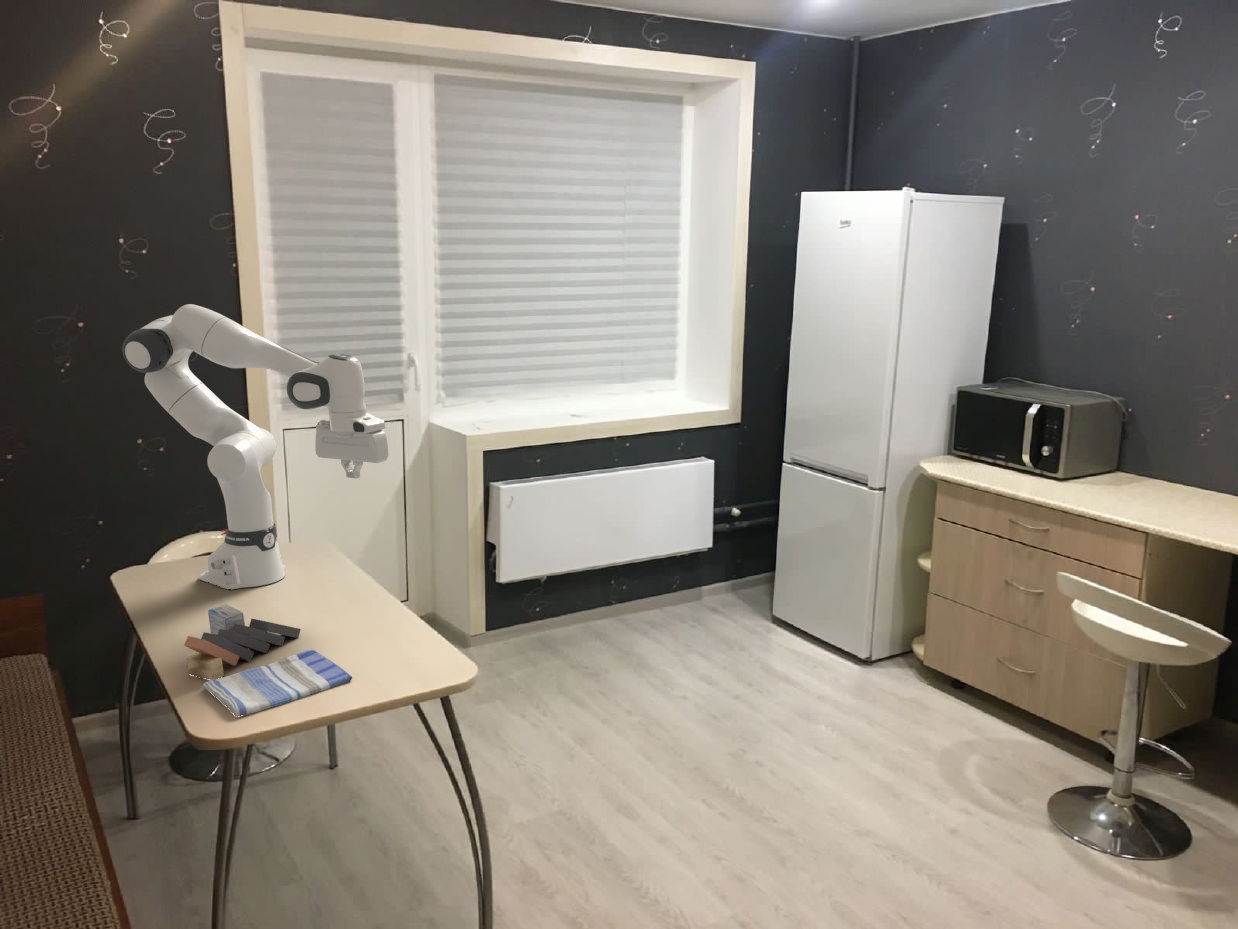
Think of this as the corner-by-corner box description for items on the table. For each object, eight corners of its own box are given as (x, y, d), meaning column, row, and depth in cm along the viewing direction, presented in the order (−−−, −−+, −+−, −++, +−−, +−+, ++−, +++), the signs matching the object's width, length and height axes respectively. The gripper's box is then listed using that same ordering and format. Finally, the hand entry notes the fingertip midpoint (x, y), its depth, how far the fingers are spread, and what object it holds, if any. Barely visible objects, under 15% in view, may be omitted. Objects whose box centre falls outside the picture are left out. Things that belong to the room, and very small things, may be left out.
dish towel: (201, 692, 188) (200, 678, 187) (317, 657, 203) (315, 645, 202) (233, 723, 175) (232, 709, 175) (354, 684, 190) (353, 671, 190)
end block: (189, 675, 194) (186, 657, 193) (199, 671, 196) (197, 652, 195) (213, 682, 191) (211, 663, 190) (223, 677, 193) (221, 658, 192)
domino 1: (218, 661, 199) (183, 645, 191) (222, 652, 200) (188, 636, 192) (235, 665, 197) (201, 649, 189) (239, 656, 198) (205, 640, 190)
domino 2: (232, 657, 203) (199, 641, 195) (236, 648, 203) (204, 632, 195) (250, 661, 200) (217, 645, 192) (254, 652, 201) (221, 636, 193)
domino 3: (249, 649, 207) (216, 638, 198) (253, 640, 207) (219, 628, 199) (266, 653, 204) (233, 642, 196) (270, 644, 205) (237, 632, 197)
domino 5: (281, 634, 215) (248, 627, 206) (284, 625, 215) (251, 618, 206) (298, 638, 212) (265, 631, 204) (300, 629, 213) (268, 622, 204)
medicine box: (248, 650, 206) (244, 612, 205) (228, 656, 203) (223, 618, 201) (231, 640, 212) (227, 603, 210) (211, 646, 209) (207, 609, 207)
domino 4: (265, 642, 210) (231, 633, 202) (268, 633, 211) (235, 623, 202) (282, 646, 208) (249, 636, 200) (285, 637, 209) (252, 627, 200)
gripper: (306, 421, 234) (311, 476, 237) (372, 426, 225) (377, 484, 228) (325, 417, 240) (329, 471, 243) (390, 422, 231) (394, 478, 234)
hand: (353, 477), depth 235 cm, fingers closed
